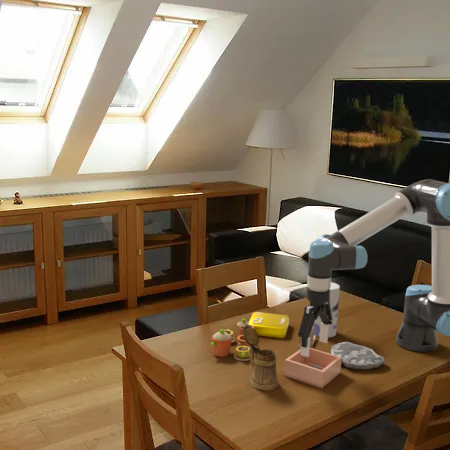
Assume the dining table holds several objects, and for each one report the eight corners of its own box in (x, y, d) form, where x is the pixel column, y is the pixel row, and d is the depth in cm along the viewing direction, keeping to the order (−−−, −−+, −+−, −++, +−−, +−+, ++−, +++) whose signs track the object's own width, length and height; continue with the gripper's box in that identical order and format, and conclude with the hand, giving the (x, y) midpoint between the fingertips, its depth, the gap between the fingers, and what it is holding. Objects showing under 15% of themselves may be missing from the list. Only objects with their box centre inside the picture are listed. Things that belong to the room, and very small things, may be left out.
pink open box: (340, 373, 197) (341, 357, 195) (322, 389, 186) (323, 372, 184) (303, 361, 205) (304, 346, 203) (283, 376, 193) (284, 359, 192)
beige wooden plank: (309, 352, 213) (310, 347, 213) (297, 350, 214) (298, 345, 214) (315, 340, 224) (315, 335, 224) (304, 338, 226) (304, 333, 225)
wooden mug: (252, 370, 197) (254, 321, 193) (283, 385, 188) (286, 333, 184) (234, 379, 190) (236, 328, 186) (266, 394, 181) (269, 341, 177)
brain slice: (317, 358, 208) (318, 350, 208) (347, 346, 219) (347, 339, 218) (362, 379, 194) (363, 371, 193) (391, 365, 205) (392, 357, 204)
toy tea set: (252, 364, 202) (253, 338, 200) (208, 360, 204) (209, 335, 202) (257, 334, 227) (258, 311, 225) (218, 331, 229) (218, 308, 227)
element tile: (284, 339, 224) (285, 327, 223) (246, 335, 227) (247, 323, 226) (288, 325, 238) (289, 314, 237) (253, 320, 241) (253, 310, 240)
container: (338, 338, 225) (341, 289, 221) (312, 337, 226) (315, 288, 221) (333, 328, 235) (337, 281, 231) (309, 327, 235) (312, 280, 231)
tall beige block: (312, 359, 207) (314, 327, 204) (309, 360, 205) (311, 329, 203) (300, 355, 210) (302, 324, 207) (298, 357, 208) (300, 326, 205)
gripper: (324, 276, 200) (320, 334, 205) (289, 295, 180) (285, 358, 185) (345, 281, 196) (340, 339, 201) (311, 300, 176) (306, 365, 181)
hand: (314, 348), depth 193 cm, fingers open, 13 cm apart
